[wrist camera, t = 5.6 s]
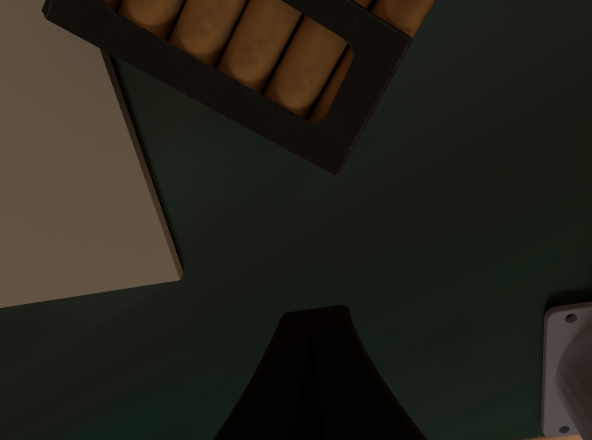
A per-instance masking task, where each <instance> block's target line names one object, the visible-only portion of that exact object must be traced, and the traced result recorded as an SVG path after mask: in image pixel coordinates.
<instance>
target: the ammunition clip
mask: <svg viewBox="0 0 592 440" xmlns="http://www.w3.org/2000/svg"><path fill="white" fill-rule="evenodd" d="M246 1H247V0H187V1H186V3H185V5H184V8H183V10H182V12H181V14H180V16H179V19H178V21H177V23H176V25H175V28H174V30H173V32H172V34H170V33H171V30H172V28H173V26H174V24H175V21H176V19H177V17H178V14H179V12H180V10H181V7H182V5H183V3H184V0H45V2H44V5H43V7H42V10H41V11H42V13H43V14H44V17H45V19H46V20H48V21H50V22H52V23H54V24H55V25H57V26H59V27H61V28H63V29H65V30H66V31H68V32H70V33H72V34H74V35H76V36H78V37H79V38H81V39H83V40H85V41H87V42H89V43H90V44H92V45H94V46H96V47H98V48H100V49H102V50H103V51H105V52H107V53H109V54H111V55H113V56H114V57H116V58H118V59H120V60H122V61H124V62H126V63H127V64H129V65H131V66H133V67H135V68H137V69H138V70H140V71H142V72H144V73H146V74H148V75H150V76H151V77H153V78H155V79H157V80H159V81H161V82H162V83H164V84H166V85H168V86H170V87H172V88H174V89H175V90H177V91H179V92H181V93H183V94H185V95H186V96H188V97H190V98H192V99H194V100H196V101H198V102H199V103H201V104H203V105H205V106H207V107H209V108H210V109H212V110H214V111H216V112H218V113H220V114H222V115H223V116H225V117H227V118H229V119H231V120H233V121H234V122H236V123H238V124H240V125H242V126H244V127H246V128H247V129H249V130H251V131H253V132H255V133H257V134H258V135H260V136H262V137H264V138H266V139H268V140H270V141H271V142H273V143H275V144H277V145H279V146H281V147H282V148H284V149H286V150H288V151H290V152H292V153H294V154H295V155H297V156H299V157H301V158H303V159H305V160H306V161H308V162H310V163H312V164H314V165H316V166H318V167H319V168H321V169H323V170H325V171H327V172H329V173H330V174H332V175H334V176H336V175H337V174H339V173H340V171H341V169H342V167H343V166H344V164H345V162H346V160H347V158H348V157H349V155H350V153H351V151H352V149H353V148H354V146H355V144H356V142H357V140H358V139H359V137H360V135H361V133H362V131H363V130H364V128H365V126H366V124H367V122H368V121H369V119H370V117H371V115H372V113H373V112H374V110H375V108H376V106H377V104H378V102H379V101H380V99H381V97H382V95H383V93H384V92H385V90H386V88H387V86H388V84H389V83H390V81H391V79H392V77H393V75H394V74H395V72H396V70H397V68H398V66H399V65H400V63H401V61H402V59H403V57H404V56H405V54H406V52H407V50H408V48H409V47H410V45H411V43H412V40H413V39H412V37H413V36H414V34H415V33H416V31H417V29H418V28H419V26H420V24H421V23H422V21H423V19H424V18H425V16H426V14H427V13H428V11H429V9H430V8H431V6H432V4H433V3H434V1H435V0H377V1H376V2H375V4H374V6H373V7H372V9H371V11H369V10H368V9H367V8H368V6H369V4H370V3H371V1H372V0H249V2H248V4H247V6H246V8H245V10H244V12H243V15H242V17H241V19H240V21H239V23H238V25H237V27H236V29H235V31H234V33H233V35H232V37H231V39H230V41H229V43H228V45H227V47H226V49H225V51H224V53H223V55H222V57H221V59H220V61H219V62H218V60H219V58H220V56H221V54H222V52H223V49H224V47H225V45H226V43H227V41H228V39H229V37H230V35H231V33H232V31H233V28H234V26H235V24H236V22H237V20H238V18H239V16H240V14H241V12H242V10H243V7H244V5H245V3H246ZM301 14H302V15H304V16H305V17H304V19H303V20H302V22H301V24H300V26H299V28H298V30H297V32H296V34H295V35H294V37H293V39H292V41H291V43H290V45H289V47H288V48H287V50H286V52H285V54H284V56H283V58H282V60H281V62H280V63H279V65H278V67H277V69H276V71H275V73H274V75H273V77H272V78H271V80H270V82H269V84H268V86H267V88H264V86H265V84H266V82H267V80H268V78H269V76H270V74H271V72H272V70H273V68H274V66H275V65H276V63H277V61H278V59H279V57H280V55H281V53H282V51H283V49H284V47H285V45H286V43H287V41H288V40H289V38H290V36H291V34H292V32H293V30H294V28H295V26H296V24H297V22H298V20H299V18H300V16H301ZM345 47H346V54H345V56H344V58H343V59H342V61H341V63H340V64H339V66H338V68H337V70H336V71H335V73H334V75H333V77H332V78H331V80H330V82H329V83H328V85H327V87H326V89H325V90H324V92H323V94H322V96H321V97H320V99H319V101H318V102H317V104H316V106H315V108H314V109H313V111H312V112H309V111H310V109H311V108H312V106H313V104H314V102H315V100H316V99H317V97H318V95H319V93H320V92H321V90H322V88H323V86H324V84H325V83H326V81H327V79H328V77H329V76H330V74H331V72H332V70H333V68H334V67H335V65H336V63H337V61H338V60H339V58H340V56H341V54H342V52H343V51H344V49H345Z"/></svg>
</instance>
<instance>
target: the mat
mask: <svg viewBox="0 0 592 440" xmlns="http://www.w3.org/2000/svg"><path fill="white" fill-rule="evenodd" d="M44 2H45V0H0V308H2V307H8V306H15V305H21V304H28V303H34V302H41V301H47V300H54V299H60V298H67V297H73V296H79V295H86V294H92V293H99V292H105V291H112V290H118V289H125V288H131V287H138V286H144V285H150V284H157V283H163V282H170V281H176V280H180V279H181V276H182V274H183V270H182V268H181V265H180V262H179V259H178V256H177V253H176V250H175V247H174V244H173V241H172V238H171V235H170V232H169V230H168V227H167V224H166V221H165V218H164V215H163V212H162V209H161V206H160V203H159V200H158V197H157V194H156V192H155V189H154V186H153V183H152V180H151V177H150V174H149V171H148V168H147V165H146V162H145V159H144V156H143V154H142V151H141V148H140V145H139V142H138V139H137V136H136V133H135V130H134V127H133V124H132V121H131V118H130V116H129V113H128V110H127V107H126V104H125V101H124V98H123V95H122V92H121V89H120V86H119V83H118V80H117V78H116V75H115V72H114V69H113V66H112V63H111V60H110V57H109V54H108V53H107V52H105V51H103V50H102V49H100V48H98V47H96V46H94V45H92V44H90V43H89V42H87V41H85V40H83V39H81V38H79V37H78V36H76V35H74V34H72V33H70V32H68V31H66V30H65V29H63V28H61V27H59V26H57V25H55V24H54V23H52V22H50V21H48V20H46V19H45V17H44V14H43V13H42V11H41V10H42V7H43V5H44Z"/></svg>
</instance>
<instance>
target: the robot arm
mask: <svg viewBox="0 0 592 440" xmlns="http://www.w3.org/2000/svg"><path fill="white" fill-rule="evenodd" d="M569 314H572V315H571V316H570V317H568V318H566V316H567V315H569ZM541 429H542V431H543V433H544V434H545V435H546V436H548V437H560V436H569V435H578V434H580V436H581V437H582V439H583V440H592V301H591V302H584V303H577V304H569V305H562V306H556V307H552V308H550V309H549V310H548V311H547V312H546V313H545V317H544V344H543V374H542V404H541ZM213 440H427V438H426V437H425V436H424V435H423V434H422V432H421V431H420V430H419V429H418V427H417V426H416V425H415V424H414V422H413V421H412V420H411V418H410V417H409V416H408V415H407V413H406V412H405V411H404V409H403V408H402V406H401V405H400V404H399V402H398V401H397V399H396V398H395V397H394V395H393V394H392V392H391V391H390V390H389V388H388V387H387V385H386V383H385V382H384V380H383V379H382V377H381V376H380V374H379V372H378V371H377V369H376V368H375V366H374V364H373V363H372V361H371V359H370V358H369V356H368V354H367V352H366V350H365V349H364V347H363V345H362V343H361V341H360V339H359V337H358V335H357V332H356V330H355V328H354V325H353V323H352V320H351V316H350V312H349V308H347V307H346V306H344V305H337V306H330V307H323V308H316V309H309V310H301V311H294V312H287V313H284V315H283V316H282V317H281V318H280V321H279V323H278V326H277V328H276V330H275V332H274V335H273V337H272V339H271V341H270V343H269V345H268V347H267V349H266V351H265V353H264V355H263V357H262V359H261V361H260V363H259V365H258V367H257V369H256V371H255V372H254V374H253V376H252V378H251V380H250V382H249V383H248V385H247V387H246V389H245V390H244V392H243V394H242V396H241V397H240V399H239V400H238V402H237V404H236V405H235V407H234V408H233V410H232V412H231V413H230V415H229V416H228V418H227V420H226V421H225V423H224V424H223V426H222V427H221V429H220V430H219V432H218V433H217V435H216V436H215V438H214V439H213Z"/></svg>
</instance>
